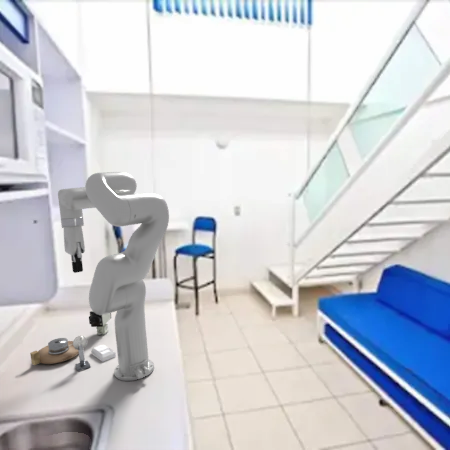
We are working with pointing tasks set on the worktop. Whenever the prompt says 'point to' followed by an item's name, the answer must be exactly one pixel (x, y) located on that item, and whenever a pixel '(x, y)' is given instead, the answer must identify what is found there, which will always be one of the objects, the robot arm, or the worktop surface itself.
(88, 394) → the worktop surface
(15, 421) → the worktop surface
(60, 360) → the turntable
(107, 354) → the white switch plate
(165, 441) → the worktop surface
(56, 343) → the cover
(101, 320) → the pneumatic valve
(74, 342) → the gauge post
